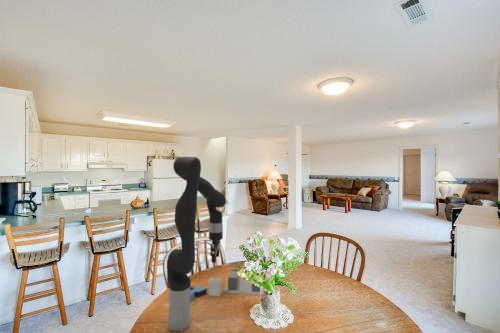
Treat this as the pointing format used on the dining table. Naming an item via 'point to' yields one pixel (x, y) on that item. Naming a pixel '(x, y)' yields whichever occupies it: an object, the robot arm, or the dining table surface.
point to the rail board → (240, 285)
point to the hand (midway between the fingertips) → (215, 259)
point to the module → (214, 286)
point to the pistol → (197, 292)
